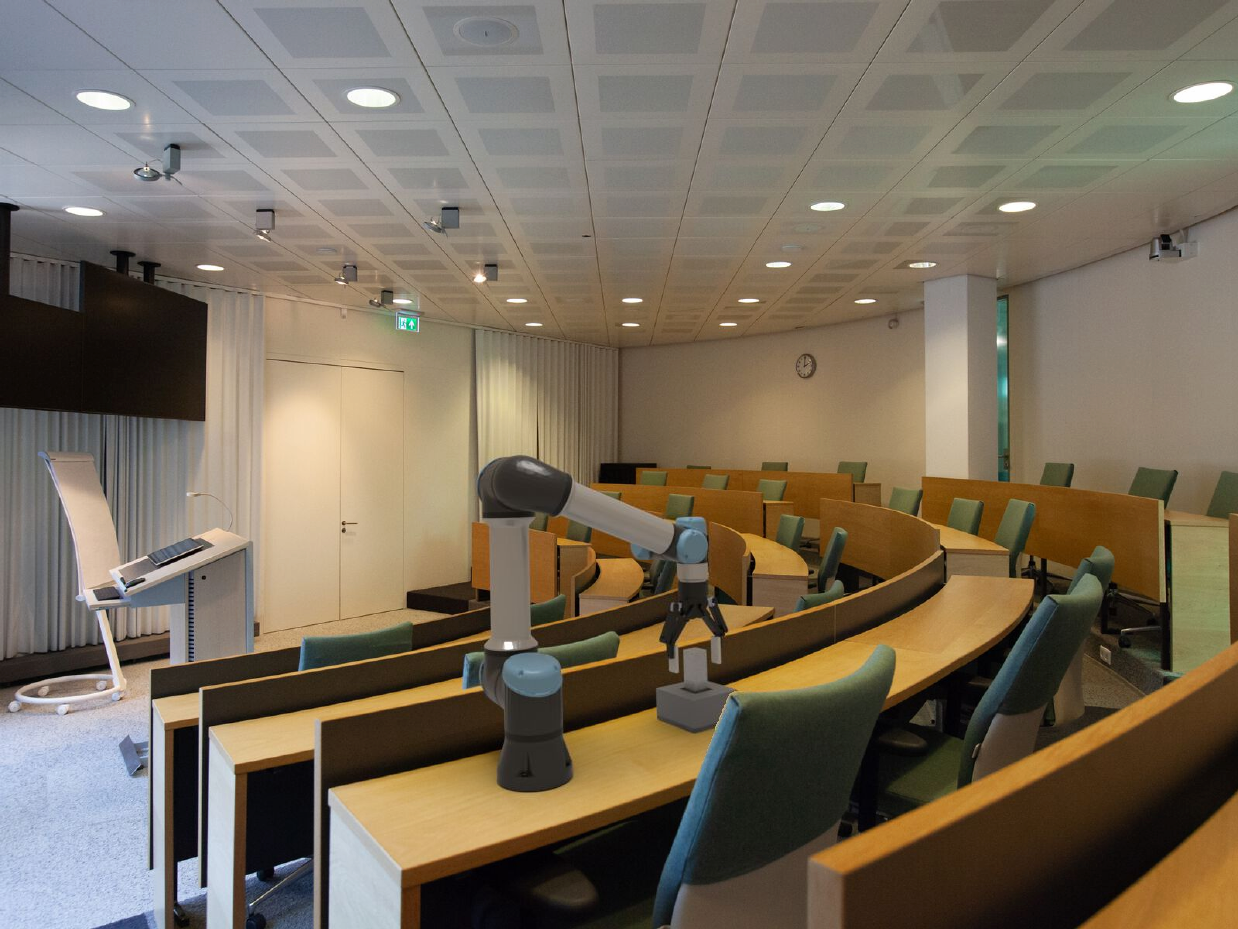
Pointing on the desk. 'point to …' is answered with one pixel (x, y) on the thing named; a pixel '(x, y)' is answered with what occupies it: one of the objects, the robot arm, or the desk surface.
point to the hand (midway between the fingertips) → (695, 667)
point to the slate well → (691, 706)
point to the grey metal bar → (695, 670)
